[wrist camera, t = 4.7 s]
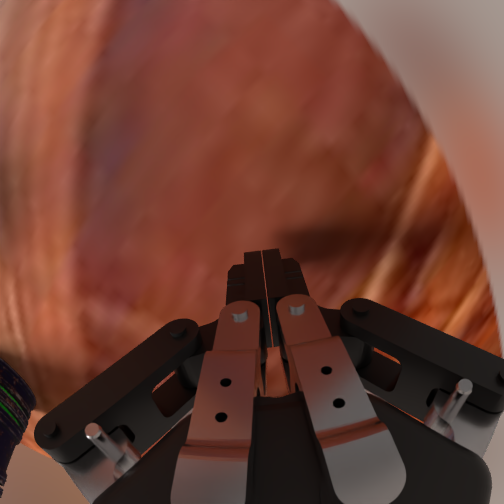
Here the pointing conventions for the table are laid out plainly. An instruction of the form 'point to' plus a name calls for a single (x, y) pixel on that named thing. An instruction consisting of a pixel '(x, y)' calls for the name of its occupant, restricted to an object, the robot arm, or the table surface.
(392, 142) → the table surface
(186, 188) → the table surface
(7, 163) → the table surface
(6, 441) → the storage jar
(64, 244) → the table surface
